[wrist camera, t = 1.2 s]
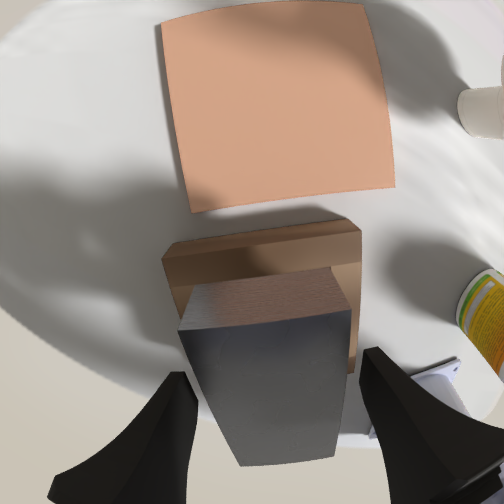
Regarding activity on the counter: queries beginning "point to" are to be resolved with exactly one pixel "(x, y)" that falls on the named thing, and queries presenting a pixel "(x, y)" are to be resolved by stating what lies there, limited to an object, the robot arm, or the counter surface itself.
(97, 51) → the counter surface
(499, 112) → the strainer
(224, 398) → the dark grey block
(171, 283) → the walnut holder
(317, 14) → the terracotta coaster
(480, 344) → the supplement bottle
